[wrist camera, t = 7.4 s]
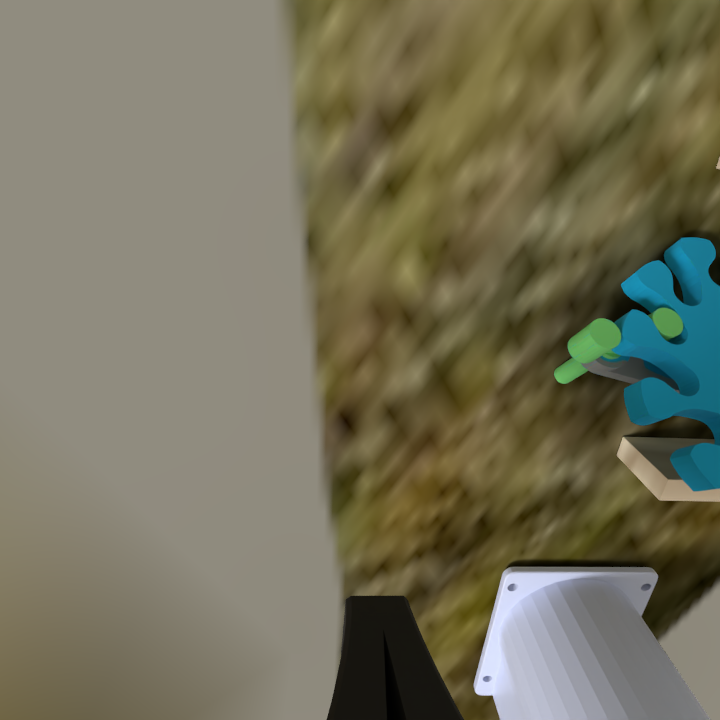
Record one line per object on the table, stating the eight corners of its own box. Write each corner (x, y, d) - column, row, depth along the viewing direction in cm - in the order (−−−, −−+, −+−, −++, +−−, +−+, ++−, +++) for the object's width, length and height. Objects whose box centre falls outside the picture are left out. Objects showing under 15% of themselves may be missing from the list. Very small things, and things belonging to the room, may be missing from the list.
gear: (904, 266, 17) (985, 568, 13) (754, 336, 22) (779, 562, 18) (606, 182, 16) (596, 465, 12) (528, 274, 22) (504, 491, 18)
